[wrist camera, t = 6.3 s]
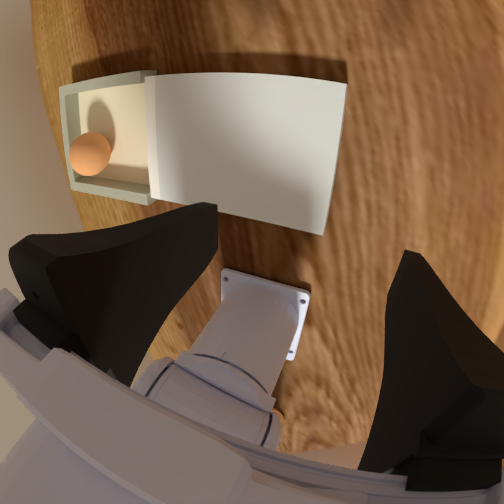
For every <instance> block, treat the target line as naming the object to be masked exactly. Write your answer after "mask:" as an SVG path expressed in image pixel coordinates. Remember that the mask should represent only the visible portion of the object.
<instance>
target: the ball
mask: <svg viewBox="0 0 504 504" xmlns="http://www.w3.org/2000/svg"><path fill="white" fill-rule="evenodd" d="M110 156H111V148H110V144H109V142H108V140H107V139H106V138H105V137H104V136H103V135H101V134H99V133H96V132H87V133H84V134H82V135H80V136H79V137H78V138H76V140H75V141H74V142H73V144H72V145H71V148H70V151H69V161H70V164H71V166H72V168H73V169H74V170H75V171H76V172H77V173H79V174H81V175H84V176H93V175H96V174H98V173H100V172H101V171H102V170H103V169H104V168H105V167H106V166H107V164H108V162H109V160H110Z"/></svg>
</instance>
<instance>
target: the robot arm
mask: <svg viewBox="0 0 504 504" xmlns="http://www.w3.org/2000/svg"><path fill="white" fill-rule="evenodd" d="M217 250H218V205H217V204H212V203H207V202H199V203H195V204H191V205H187V206H184V207H181V208H178V209H175V210H171V211H168V212H165V213H162V214H159V215H156V216H152V217H149V218H146V219H143V220H139V221H136V222H132V223H128V224H124V225H120V226H115V227H111V228H105V229H99V230H93V231H87V232H79V233H67V234H32V235H28V236H26V237H25V238H23V239H22V240H20V241H19V242H18V243H16V244H15V245H14V246H12V247H11V248H10V250H9V261H10V265H11V268H12V270H13V273H14V275H15V278H16V280H17V282H18V284H19V286H20V288H21V291H22V293H23V295H24V297H25V298H26V299H25V300H24V301H23V302H21V303H20V302H19V300H18V299H17V298H16V297H15V296H14V295H13V294H12V293H11V292H10V291H8V290H7V289H6V288H3V289H2V290H1V291H0V374H1V376H2V377H3V378H4V379H5V381H6V382H7V383H8V384H9V385H10V386H11V388H12V389H13V390H14V391H15V392H16V393H17V398H18V399H19V400H20V401H21V402H22V403H23V404H24V406H25V407H26V408H27V409H28V410H29V411H30V412H31V413H32V414H33V415H34V416H35V417H36V419H35V420H34V421H33V423H32V424H31V426H29V428H28V429H27V430H26V431H25V433H24V434H23V435H22V437H21V438H20V439H19V440H18V442H17V443H16V444H15V446H14V447H13V448H12V449H11V451H10V452H9V453H8V455H7V456H6V457H5V459H4V460H3V461H2V463H1V464H0V504H504V467H503V468H502V459H504V353H503V352H502V351H501V350H500V349H499V348H498V347H497V346H496V345H495V344H494V343H493V342H492V341H491V340H490V339H489V338H488V337H487V336H486V335H485V334H484V333H483V332H482V331H481V330H480V329H479V328H478V327H477V326H476V325H475V323H474V322H473V321H472V320H471V319H470V318H469V317H468V315H467V314H466V313H465V312H464V311H463V310H462V308H461V307H460V306H459V304H458V303H457V302H456V301H455V299H454V298H453V297H452V295H451V294H450V293H449V291H448V290H447V289H446V287H445V286H444V285H443V283H442V282H441V280H440V279H439V278H438V276H437V275H436V273H435V272H434V271H433V269H432V268H431V266H430V265H429V264H428V262H427V261H426V260H425V259H424V257H423V256H422V255H421V254H420V253H416V252H413V251H409V250H405V251H404V254H403V256H402V259H401V262H400V264H399V267H398V269H397V272H396V275H395V277H394V280H393V282H392V284H391V287H390V289H389V292H388V296H387V304H386V312H385V350H384V370H383V379H382V384H381V390H380V395H379V400H378V404H377V408H376V412H375V416H374V420H373V424H372V428H371V431H370V434H369V438H368V441H367V444H366V447H365V450H364V453H363V456H362V458H361V461H360V464H359V467H358V469H357V470H355V469H349V468H343V467H339V466H334V465H329V464H324V463H320V462H316V461H311V460H307V459H303V458H299V457H296V456H292V455H288V454H285V453H281V452H278V451H276V449H277V447H278V444H279V441H280V438H281V433H282V425H281V422H280V417H279V415H278V414H276V413H274V412H272V409H273V406H274V404H275V401H276V399H275V398H273V397H271V395H272V392H273V390H274V387H275V385H276V383H277V380H278V378H279V375H280V373H281V370H282V368H283V365H284V362H285V360H286V359H287V360H294V358H295V354H296V351H297V347H298V343H299V340H300V336H301V332H302V328H303V324H304V321H305V317H306V313H307V309H308V305H309V300H310V296H311V294H310V292H308V291H307V290H304V289H300V288H296V287H293V286H289V285H285V284H282V283H278V282H274V281H271V280H267V279H264V278H260V277H256V276H253V275H249V274H246V273H242V272H239V271H235V270H232V269H228V268H224V269H223V270H222V271H221V304H220V305H219V307H218V308H217V310H216V311H215V313H214V314H213V316H212V317H211V319H210V320H209V321H208V323H207V324H206V326H205V327H204V329H203V330H202V332H201V333H200V335H199V336H198V337H197V339H196V340H195V342H194V343H193V345H192V346H191V348H190V349H189V351H188V352H186V351H182V352H181V353H180V355H179V356H178V358H177V359H176V360H173V359H171V358H170V357H164V358H163V359H158V360H156V361H154V362H153V363H151V364H150V365H149V366H148V367H147V369H146V370H145V371H144V372H143V373H142V375H141V376H140V377H139V379H138V380H137V382H136V383H135V385H134V386H133V388H132V389H131V388H130V386H131V383H132V381H133V379H134V377H135V374H136V372H137V370H138V367H139V366H140V364H141V362H142V360H143V358H144V356H145V354H146V352H147V350H148V348H149V347H150V345H151V343H152V341H153V340H154V338H155V336H156V334H157V333H158V331H159V329H160V328H161V326H162V324H163V323H164V321H165V320H166V318H167V317H168V315H169V313H170V312H171V311H172V309H173V308H174V307H175V305H176V304H177V303H178V302H179V300H180V299H181V298H182V297H183V296H184V294H185V293H186V292H187V291H188V290H189V288H190V287H191V286H192V285H193V284H194V282H195V281H196V280H197V279H198V278H199V276H200V275H201V274H202V273H203V271H204V270H205V269H206V268H207V266H208V265H209V263H210V261H211V260H212V258H213V256H214V255H215V253H216V251H217ZM225 277H226V278H228V279H226V278H225ZM301 299H304V300H305V301H303V300H301ZM291 350H292V351H291Z"/></svg>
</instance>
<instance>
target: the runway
mask: <svg viewBox="0 0 504 504" xmlns="http://www.w3.org/2000/svg"><path fill="white" fill-rule="evenodd" d="M347 89H348V84H345V83H339V82H333V81H326V80H319V79H312V78H304V77H295V76H285V75H273V74H257V73H184V74H168V75H156V76H146V77H145V120H146V141H147V157H148V170H149V182H150V192H151V198H155V199H160V200H165V201H170V202H175V203H180V204H185V205H191V204H195V203H199V202H207V203H212V204H217V205H218V212H223V213H227V214H232V215H236V216H241V217H245V218H250V219H254V220H259V221H263V222H267V223H272V224H276V225H280V226H285V227H289V228H293V229H297V230H301V231H306V232H310V233H314V234H318V235H322V236H323V234H324V231H325V228H326V224H327V219H328V214H329V208H330V203H331V198H332V192H333V186H334V181H335V175H336V169H337V162H338V156H339V150H340V143H341V136H342V129H343V122H344V114H345V106H346V98H347Z"/></svg>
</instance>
